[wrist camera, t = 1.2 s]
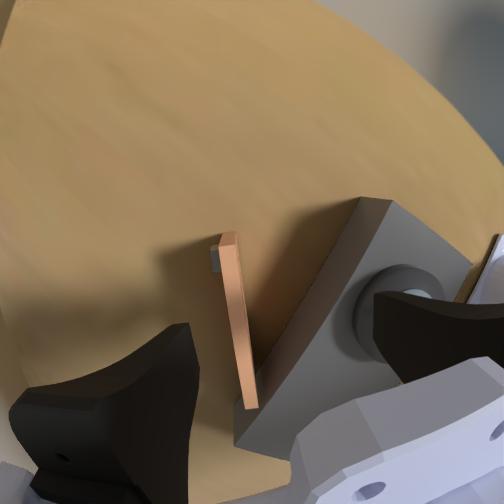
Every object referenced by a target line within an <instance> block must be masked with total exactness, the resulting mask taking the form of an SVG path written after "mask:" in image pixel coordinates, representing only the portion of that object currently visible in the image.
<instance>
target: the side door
mask: <svg viewBox="0 0 504 504" xmlns="http://www.w3.org/2000/svg"><path fill="white" fill-rule="evenodd" d="M210 257H211V263H212V270H213V273H217V272H222V275H223V282H224V288H225V295H226V301H227V307H228V313H229V320H230V326H231V332H232V338H233V343H234V349H235V355H236V361H237V367H238V372H239V378H240V383H241V389H242V394H243V399H244V405H245V409H253V408H259V407H258V397H257V386H256V376H255V367H254V360H253V353H252V347H251V340H250V333H249V326H248V318H247V311H246V304H245V297H244V290H243V282H242V275H241V268H240V260H239V253H238V245H237V238H236V232H230V233H223V234H222V237H221V240H220V243H219V244H217V245H212V247H211V249H210Z"/></svg>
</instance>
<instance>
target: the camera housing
mask: <svg viewBox="0 0 504 504" xmlns="http://www.w3.org/2000/svg"><path fill="white" fill-rule="evenodd" d="M471 266H472V263H471V262H470V261H469V260H468V259H467V258H466V257H464V256H463V255H462V254H461V253H460V252H459V251H457V250H456V249H455V248H454V247H453V246H451V245H450V244H449V243H448V242H447V241H445V240H444V239H443V238H442V237H440V236H439V235H438V234H437V233H435V232H434V231H433V230H432V229H430V228H429V227H428V226H427V225H425V224H424V223H423V222H421V221H420V220H419V219H417V218H416V217H415V216H413V215H412V214H411V213H409V212H408V211H407V210H405V209H404V208H403V207H401V206H400V205H398V204H397V203H396V202H394V201H393V200H385V199H377V198H369V197H360V199H359V201H358V203H357V205H356V207H355V209H354V210H353V212H352V214H351V216H350V218H349V220H348V222H347V223H346V225H345V227H344V229H343V231H342V233H341V235H340V236H339V238H338V240H337V242H336V244H335V245H334V247H333V249H332V251H331V252H330V254H329V256H328V258H327V260H326V261H325V263H324V265H323V267H322V268H321V270H320V272H319V273H318V275H317V277H316V279H315V280H314V282H313V284H312V285H311V287H310V289H309V290H308V292H307V294H306V295H305V297H304V299H303V300H302V302H301V304H300V305H299V307H298V309H297V310H296V312H295V314H294V315H293V317H292V318H291V320H290V322H289V323H288V325H287V327H286V328H285V330H284V331H283V333H282V334H281V336H280V338H279V339H278V341H277V342H276V344H275V345H274V347H273V349H272V350H271V352H270V353H269V355H268V356H267V358H266V359H265V361H264V362H263V364H262V365H261V367H260V368H259V370H258V371H257V373H256V374H255V376H256V386H257V397H258V407H259V408H253V409H245V405H244V399H243V394H242V395H241V396H240V398H239V399H238V401H237V402H236V404H235V405H234V446H235V447H238V448H241V449H245V450H248V451H252V452H255V453H259V454H263V455H267V456H270V457H274V458H279V459H283V460H287V461H290V453H291V450H292V447H293V444H294V441H295V438H296V435H297V434H298V433H300V432H301V431H302V430H303V429H304V428H305V427H306V426H308V425H309V424H310V423H311V422H312V421H313V420H314V419H315V418H317V417H318V416H319V415H320V414H321V413H323V412H325V411H328V410H330V409H333V408H335V407H337V406H340V405H342V404H344V403H346V402H349V401H351V400H353V399H357V398H360V397H364V396H368V395H371V394H375V393H378V392H382V391H385V390H388V389H391V388H395V387H397V386H398V384H399V383H400V382H401V379H400V378H399V377H398V376H397V374H396V373H395V372H394V371H393V369H392V368H391V367H390V365H389V364H388V363H387V362H386V360H385V359H384V358H383V356H382V355H381V353H380V351H379V350H378V348H377V346H376V344H375V342H374V340H373V309H374V293H378V292H382V291H398V292H404V293H408V294H413V295H417V296H422V297H427V298H431V299H436V300H442V301H448V302H453V301H454V299H455V297H456V295H457V294H458V292H459V290H460V288H461V286H462V284H463V282H464V280H465V278H466V276H467V274H468V272H469V270H470V268H471Z"/></svg>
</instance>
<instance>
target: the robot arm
mask: <svg viewBox="0 0 504 504" xmlns="http://www.w3.org/2000/svg"><path fill="white" fill-rule="evenodd" d="M373 340H374V342H375V344H376V346H377V348H378V350H379V351H380V353H381V355H382V356H383V358H384V359H385V360H386V362H387V363H388V364H389V365H390V367H391V368H392V369H393V371H394V372H395V373H396V374H397V376H398V377H399V378H400V379H401V381H402V382H403V383H404V385H401V386H398V387H395V388H391V389H388V390H385V391H382V392H378V393H375V394H371V395H368V396H364V397H360V398H357V399H353V400H351V401H349V402H346V403H344V404H342V405H340V406H337V407H335V408H333V409H330V410H328V411H325V412H323V413H321V414H320V415H319V416H318V417H317V418H315V419H314V420H313V421H312V422H311V423H310V424H309V425H308V426H306V427H305V428H304V429H303V430H302V431H301V432H300V433H298V434H297V435H296V438H295V441H294V444H293V447H292V450H291V453H290V465H291V480H290V483H289V484H287V485H284V486H281V487H278V488H275V489H272V490H268V491H265V492H262V493H258V494H255V495H251V496H247V497H243V498H239V499H235V500H231V501H227V502H222V503H218V504H504V234H500V235H499V236H498V238H497V241H496V243H495V246H494V248H493V250H492V253H491V255H490V257H489V259H488V261H487V264H486V266H485V268H484V270H483V272H482V274H481V276H480V278H479V280H478V282H477V284H476V286H475V288H474V290H473V292H472V294H471V296H470V298H469V299H468V301H467V303H455V302H448V301H442V300H436V299H431V298H427V297H422V296H417V295H413V294H408V293H404V292H398V291H382V292H378V293H374V309H373ZM199 372H200V367H199V363H198V359H197V355H196V351H195V347H194V343H193V339H192V335H191V330H190V326H189V323H180V324H173V325H171V326H169V327H167V328H166V329H165V330H163V331H162V332H161V333H159V334H158V335H157V336H155V337H154V338H153V339H151V340H150V341H149V342H147V343H146V344H145V345H143V346H142V347H140V348H139V349H137V350H136V351H134V352H133V353H131V354H130V355H128V356H127V357H125V358H123V359H121V360H120V361H118V362H116V363H114V364H112V365H110V366H108V367H106V368H104V369H101V370H99V371H96V372H94V373H91V374H89V375H86V376H83V377H80V378H77V379H73V380H70V381H66V382H62V383H57V384H52V385H45V386H38V387H30V388H27V389H26V390H25V391H24V392H23V394H22V395H21V396H20V397H19V398H18V399H17V401H16V402H15V403H14V404H13V405H12V407H11V409H10V410H9V422H10V425H11V428H12V430H13V432H14V434H15V436H16V438H17V439H18V441H19V442H20V444H21V445H22V446H23V448H24V449H25V451H26V452H27V453H28V455H29V456H30V457H31V458H32V460H33V461H34V463H35V464H36V465H37V466H38V468H39V469H38V471H37V472H36V474H35V475H33V474H32V473H31V472H29V471H28V470H26V469H24V468H20V467H18V466H15V465H12V464H9V463H6V462H3V461H2V462H1V463H0V504H188V453H189V438H190V431H191V426H192V421H193V416H194V411H195V406H196V400H197V395H198V390H199Z"/></svg>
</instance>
